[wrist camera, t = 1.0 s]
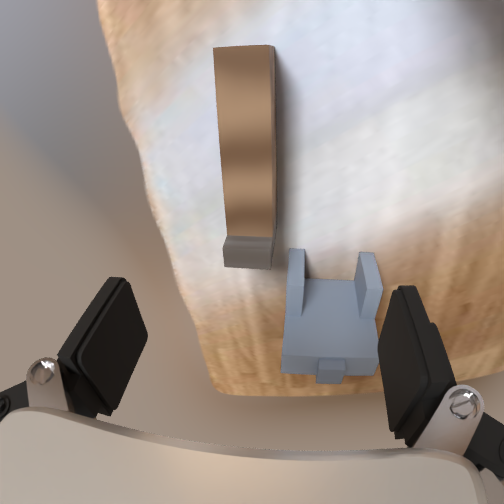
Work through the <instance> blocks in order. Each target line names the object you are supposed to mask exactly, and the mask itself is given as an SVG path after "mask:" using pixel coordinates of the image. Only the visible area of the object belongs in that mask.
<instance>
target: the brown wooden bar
mask: <svg viewBox="0 0 504 504" xmlns="http://www.w3.org/2000/svg"><path fill="white" fill-rule="evenodd" d="M213 55H214V71H215V87H216V102H217V116H218V129H219V143H220V156H221V168H222V180H223V192H224V204H225V215H226V226H227V237H226V240H225V243H224V246H223V257H224V266H225V267H233V268H251V269H269V270H271V263H272V256H273V249H274V243H275V236H276V229H277V168H276V98H275V58H274V46H271V45H249V46H231V47H217V48H213Z"/></svg>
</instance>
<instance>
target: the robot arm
mask: <svg viewBox="0 0 504 504" xmlns="http://www.w3.org/2000/svg"><path fill="white" fill-rule="evenodd" d="M147 338H148V334H147V330H146V327H145V325H144V322H143V320H142V317H141V314H140V311H139V308H138V305H137V303H136V300H135V297H134V294H133V291H132V288H131V285H130V283H129V282H127V281H126V279H125V278H122V277H109V279H107V281H106V282H105V283H104V285H103V286H102V288H101V289H100V291H99V292H98V293H97V295H96V296H95V298H94V299H93V301H92V302H91V304H90V305H89V306H88V308H87V309H86V311H85V312H84V314H83V315H82V317H81V318H80V320H79V321H78V323H77V324H76V326H75V327H74V329H73V330H72V332H71V333H70V335H69V337H68V338H67V340H66V341H65V343H64V344H63V346H62V348H61V349H60V351H59V353H58V354H57V355H58V359H57V361H56V360H55V359H53V358H47V357H45V358H41V359H39V360H37V361H35V362H34V363H33V364H32V365H31V366H30V368H29V369H28V372H27V375H26V381H24V382H22V383H20V384H18V385H15V386H13V387H11V388H9V389H7V390H4V391H2V392H0V504H504V425H503V424H502V423H500V422H498V421H497V420H495V419H494V418H492V417H491V416H489V415H488V414H486V413H485V412H483V411H484V401H483V399H482V397H481V395H480V394H479V393H478V392H477V391H476V390H475V389H474V388H472V387H470V386H467V385H457V384H456V381H455V378H454V374H453V371H452V368H451V365H450V362H449V359H448V356H447V353H446V350H445V348H444V345H443V342H442V339H441V336H440V334H439V331H438V328H437V326H436V324H434V323H430V321H429V319H428V316H427V313H426V311H425V308H424V306H423V303H422V300H421V298H420V296H419V293H418V291H417V288H416V287H415V286H399V287H398V289H397V290H393V292H392V295H391V299H390V303H389V307H388V310H387V314H386V317H385V321H384V324H383V328H382V331H381V335H380V338H379V341H378V346H377V352H378V358H379V363H380V369H381V375H382V381H383V387H384V394H385V400H386V407H387V415H388V422H389V429H390V431H391V432H394V434H395V439H403V438H404V439H405V444H406V445H407V448H395V449H376V450H355V451H354V450H353V451H288V450H270V449H256V448H244V447H233V446H225V445H217V444H210V443H202V442H196V441H190V440H184V439H178V438H173V437H167V436H162V435H157V434H152V433H148V432H143V431H139V430H135V429H130V428H126V427H122V426H118V425H114V424H110V423H107V422H103V421H100V420H97V419H96V416H97V414H98V413H100V414H104V415H107V416H111V414H112V412H113V410H116V409H117V407H118V405H119V403H120V401H121V398H122V396H123V394H124V391H125V389H126V387H127V384H128V382H129V380H130V377H131V375H132V373H133V371H134V368H135V366H136V364H137V362H138V359H139V357H140V355H141V353H142V351H143V348H144V346H145V344H146V342H147ZM487 499H488V500H487Z"/></svg>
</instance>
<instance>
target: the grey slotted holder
mask: <svg viewBox="0 0 504 504" xmlns="http://www.w3.org/2000/svg"><path fill="white" fill-rule="evenodd" d="M304 255H305V249H290V250H289V263H288V276H287V291H286V314H285V326H284V337H283V347H282V360H281V373H289V374H309V375H316V383H320V384H341V382H342V379H343V376H344V375H346V376H373V375H374V373H375V371H376V368H377V366H378V364H379V358H378V352H377V346H378V335H377V329H376V324H375V316H376V313H377V309H378V306H379V303H380V299H381V296H382V292H383V286H382V282H381V278H380V275H379V271H378V267H377V263H376V260H375V256H374V253H370V252H359V257H358V263H357V268H356V273H355V278H354V281H352V280H328V279H307V278H304Z"/></svg>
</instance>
